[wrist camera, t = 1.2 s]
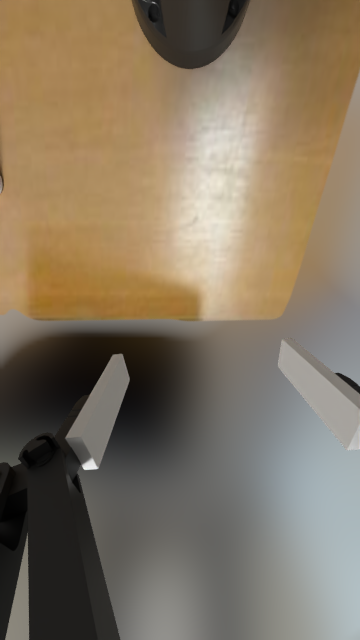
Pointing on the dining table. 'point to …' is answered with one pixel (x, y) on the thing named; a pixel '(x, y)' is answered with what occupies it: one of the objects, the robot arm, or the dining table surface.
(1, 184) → the pill bottle
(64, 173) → the dining table surface
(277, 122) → the dining table surface
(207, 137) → the dining table surface
